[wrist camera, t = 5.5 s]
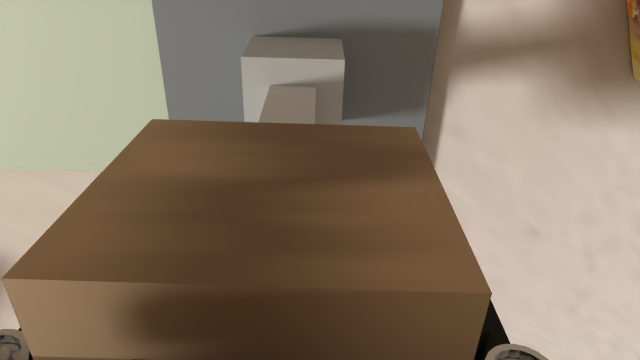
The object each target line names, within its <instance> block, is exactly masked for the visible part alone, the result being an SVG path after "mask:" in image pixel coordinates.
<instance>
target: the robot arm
mask: <svg viewBox="0 0 640 360" xmlns="http://www.w3.org/2000/svg"><path fill="white" fill-rule="evenodd" d="M0 360H33V358H32V355H31V353H30V350H29V347H28V345H27V342H26V340H25V337H24V335H23V332H22V330H21V327H20V328H19V330H15V329H2V330H0ZM474 360H548V359H547V358H546V357H544V356H543V355H542V354H540V353H539V352H537V351H535V350H533V349H530V348H528V347H526V346H521V345H517V344H510V342H509V340H508V337H507V335H506V333H505V331H504V328H503V326H502V324H501V322H500V319H499V317H498V315H497V313H496V311H495V308H494V306H493V304H492V302H491V299H490V302H489V306H488V309H487V313H486V317H485V320H484V324H483V328H482V331H481V335H480V339H479V342H478V346H477V350H476V353H475V357H474Z"/></svg>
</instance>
